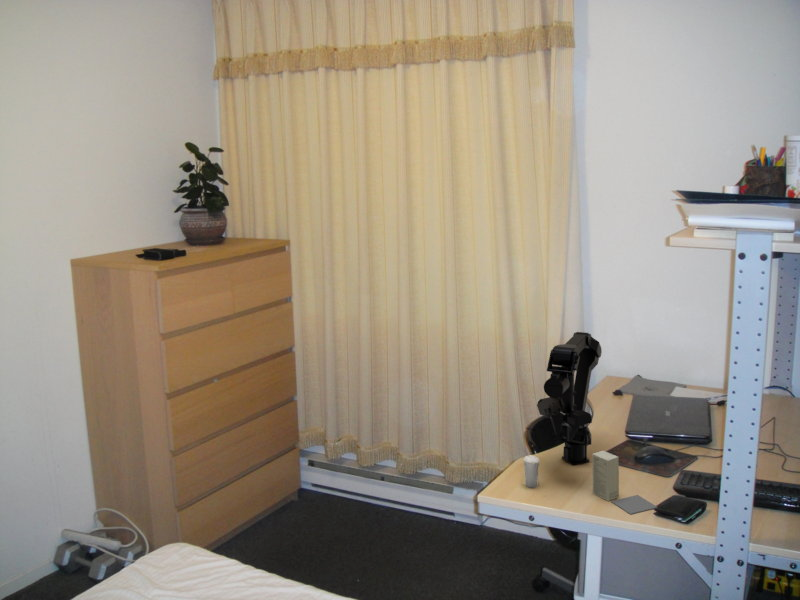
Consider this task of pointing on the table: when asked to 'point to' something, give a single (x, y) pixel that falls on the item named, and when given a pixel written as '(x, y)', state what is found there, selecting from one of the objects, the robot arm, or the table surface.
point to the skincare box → (605, 475)
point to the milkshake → (531, 470)
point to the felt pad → (634, 504)
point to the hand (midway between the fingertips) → (563, 438)
